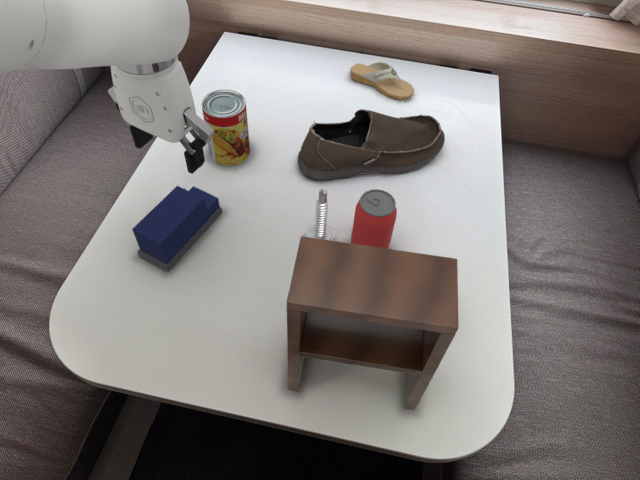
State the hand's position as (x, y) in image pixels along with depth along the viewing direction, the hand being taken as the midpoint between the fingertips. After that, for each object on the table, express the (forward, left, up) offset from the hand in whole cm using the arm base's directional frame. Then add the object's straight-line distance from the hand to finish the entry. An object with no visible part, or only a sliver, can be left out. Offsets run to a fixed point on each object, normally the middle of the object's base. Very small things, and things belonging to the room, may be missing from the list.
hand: (170, 154), depth 76 cm
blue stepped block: (-1, 0, -18) cm, 18 cm away
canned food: (+20, +5, -18) cm, 27 cm away
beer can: (+13, -29, -18) cm, 36 cm away
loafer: (+33, -20, -18) cm, 42 cm away
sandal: (+56, -11, -18) cm, 59 cm away
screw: (+10, -21, -18) cm, 29 cm away
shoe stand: (-8, -37, -18) cm, 41 cm away
